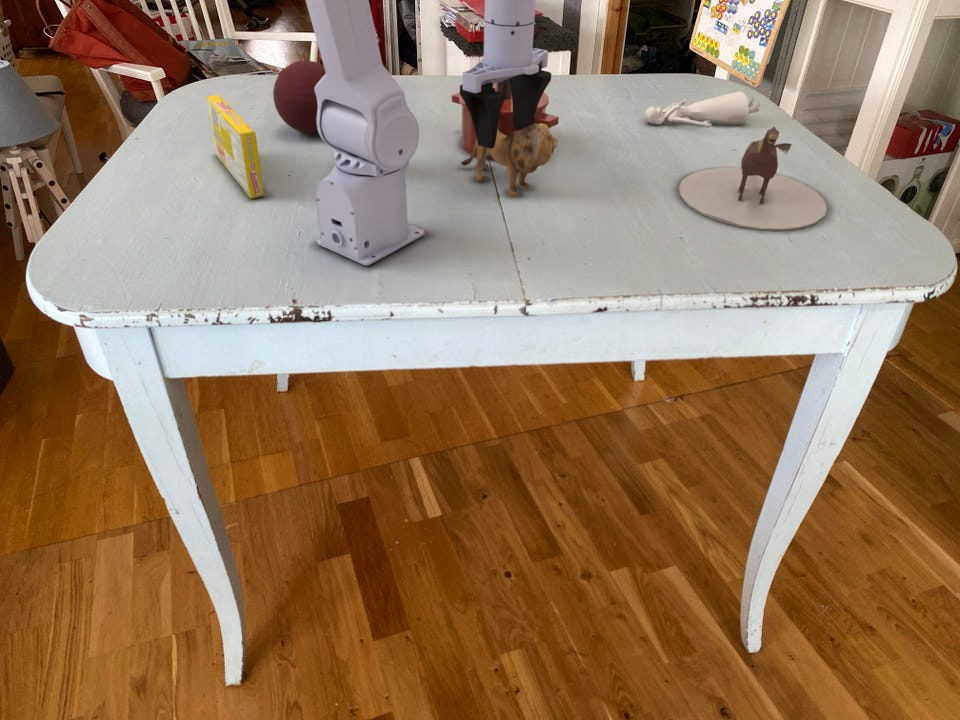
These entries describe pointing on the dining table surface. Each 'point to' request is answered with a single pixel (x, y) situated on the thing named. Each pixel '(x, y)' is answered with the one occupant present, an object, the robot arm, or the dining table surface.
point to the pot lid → (510, 98)
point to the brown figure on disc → (754, 192)
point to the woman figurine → (706, 111)
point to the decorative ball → (298, 95)
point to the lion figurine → (517, 154)
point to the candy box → (236, 146)
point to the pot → (503, 125)
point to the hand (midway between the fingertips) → (504, 137)
